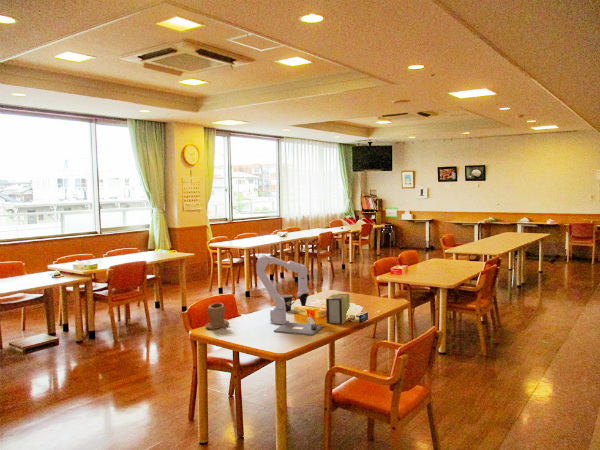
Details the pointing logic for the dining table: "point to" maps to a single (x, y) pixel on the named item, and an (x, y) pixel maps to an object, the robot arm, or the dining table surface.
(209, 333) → the dining table surface
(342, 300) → the protein box
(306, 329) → the label board
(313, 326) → the swing bar
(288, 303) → the coffee mug
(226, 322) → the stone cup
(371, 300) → the dining table surface
